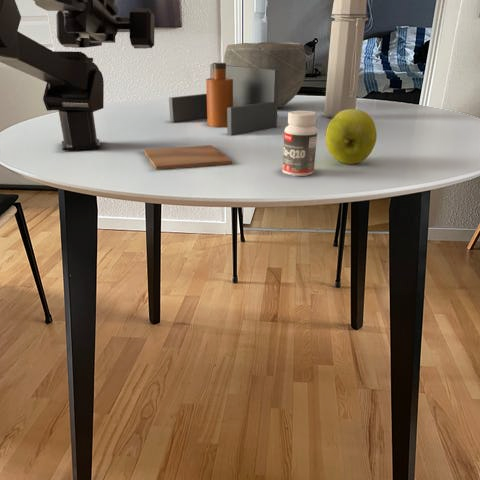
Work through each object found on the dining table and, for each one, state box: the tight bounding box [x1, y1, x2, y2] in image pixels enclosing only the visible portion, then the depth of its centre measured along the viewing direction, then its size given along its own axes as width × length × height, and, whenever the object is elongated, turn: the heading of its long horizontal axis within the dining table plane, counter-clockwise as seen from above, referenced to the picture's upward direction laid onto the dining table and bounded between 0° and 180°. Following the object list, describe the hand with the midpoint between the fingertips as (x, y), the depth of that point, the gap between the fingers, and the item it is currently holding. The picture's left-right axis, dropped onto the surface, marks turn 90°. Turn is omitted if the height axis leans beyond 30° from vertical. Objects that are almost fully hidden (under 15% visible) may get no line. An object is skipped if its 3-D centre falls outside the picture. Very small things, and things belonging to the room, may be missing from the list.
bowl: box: [223, 41, 307, 107], centre depth 127 cm, size 21×21×15 cm
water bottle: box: [323, 0, 369, 119], centre depth 111 cm, size 9×8×25 cm
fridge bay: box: [168, 63, 279, 136], centre depth 106 cm, size 13×20×11 cm, turn 43°
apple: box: [325, 108, 378, 165], centre depth 78 cm, size 8×9×8 cm
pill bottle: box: [282, 110, 318, 177], centre depth 72 cm, size 5×5×8 cm
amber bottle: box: [205, 62, 233, 128], centre depth 106 cm, size 6×6×12 cm
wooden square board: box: [143, 144, 232, 171], centre depth 82 cm, size 12×12×1 cm
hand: (122, 42), depth 103 cm, fingers open, 9 cm apart
